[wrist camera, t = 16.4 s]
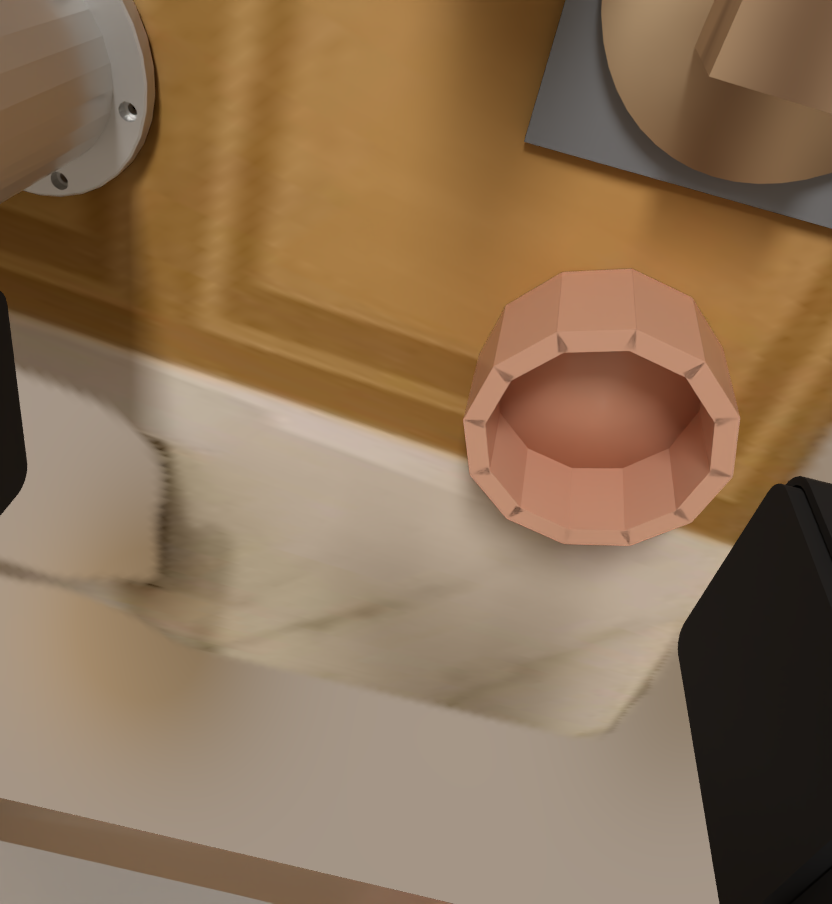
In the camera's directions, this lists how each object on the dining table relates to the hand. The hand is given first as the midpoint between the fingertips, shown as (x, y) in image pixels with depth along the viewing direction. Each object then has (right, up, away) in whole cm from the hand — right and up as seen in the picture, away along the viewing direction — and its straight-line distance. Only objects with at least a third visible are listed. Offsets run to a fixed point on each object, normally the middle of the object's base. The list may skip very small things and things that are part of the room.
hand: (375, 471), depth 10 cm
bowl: (+10, +4, +31) cm, 33 cm away
